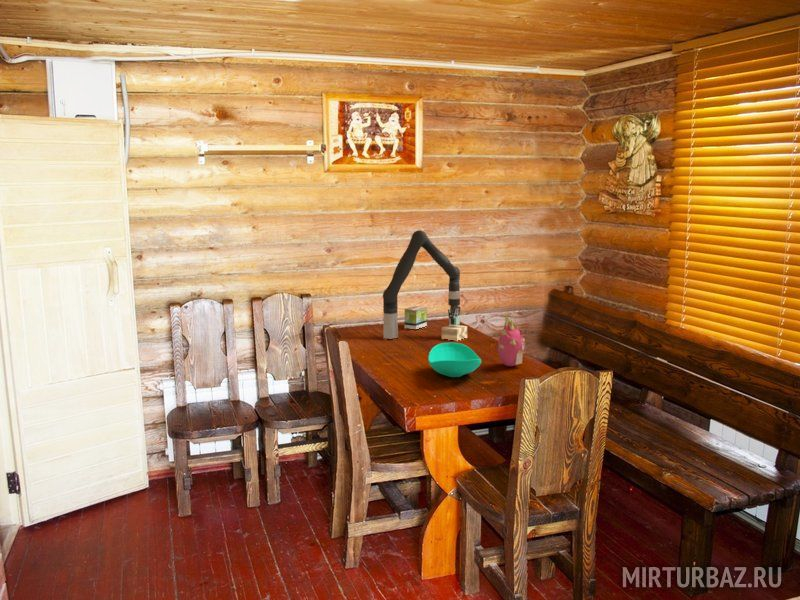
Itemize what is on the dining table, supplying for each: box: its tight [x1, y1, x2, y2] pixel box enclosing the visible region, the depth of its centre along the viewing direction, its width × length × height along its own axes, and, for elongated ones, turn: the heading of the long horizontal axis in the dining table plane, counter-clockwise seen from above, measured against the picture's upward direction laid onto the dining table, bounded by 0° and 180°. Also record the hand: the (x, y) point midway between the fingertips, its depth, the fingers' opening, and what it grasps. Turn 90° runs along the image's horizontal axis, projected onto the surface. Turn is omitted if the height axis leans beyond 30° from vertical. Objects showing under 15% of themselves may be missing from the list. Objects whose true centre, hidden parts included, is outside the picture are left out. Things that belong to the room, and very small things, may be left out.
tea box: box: [404, 305, 428, 330], centre depth 486 cm, size 15×10×15 cm
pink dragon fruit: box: [497, 312, 526, 367], centre depth 383 cm, size 18×14×30 cm
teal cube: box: [448, 316, 461, 326], centre depth 452 cm, size 5×5×5 cm
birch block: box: [441, 324, 468, 342], centre depth 453 cm, size 12×12×8 cm
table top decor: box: [427, 342, 482, 378], centre depth 369 cm, size 40×28×13 cm
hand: (454, 323), depth 452 cm, fingers closed on teal cube, 4 cm apart
